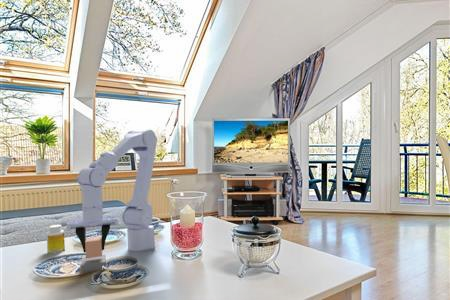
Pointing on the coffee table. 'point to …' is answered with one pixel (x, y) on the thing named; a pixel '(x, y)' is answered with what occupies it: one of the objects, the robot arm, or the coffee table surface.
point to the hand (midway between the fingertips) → (94, 250)
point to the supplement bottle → (55, 239)
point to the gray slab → (93, 263)
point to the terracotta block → (93, 247)
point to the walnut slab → (89, 271)
